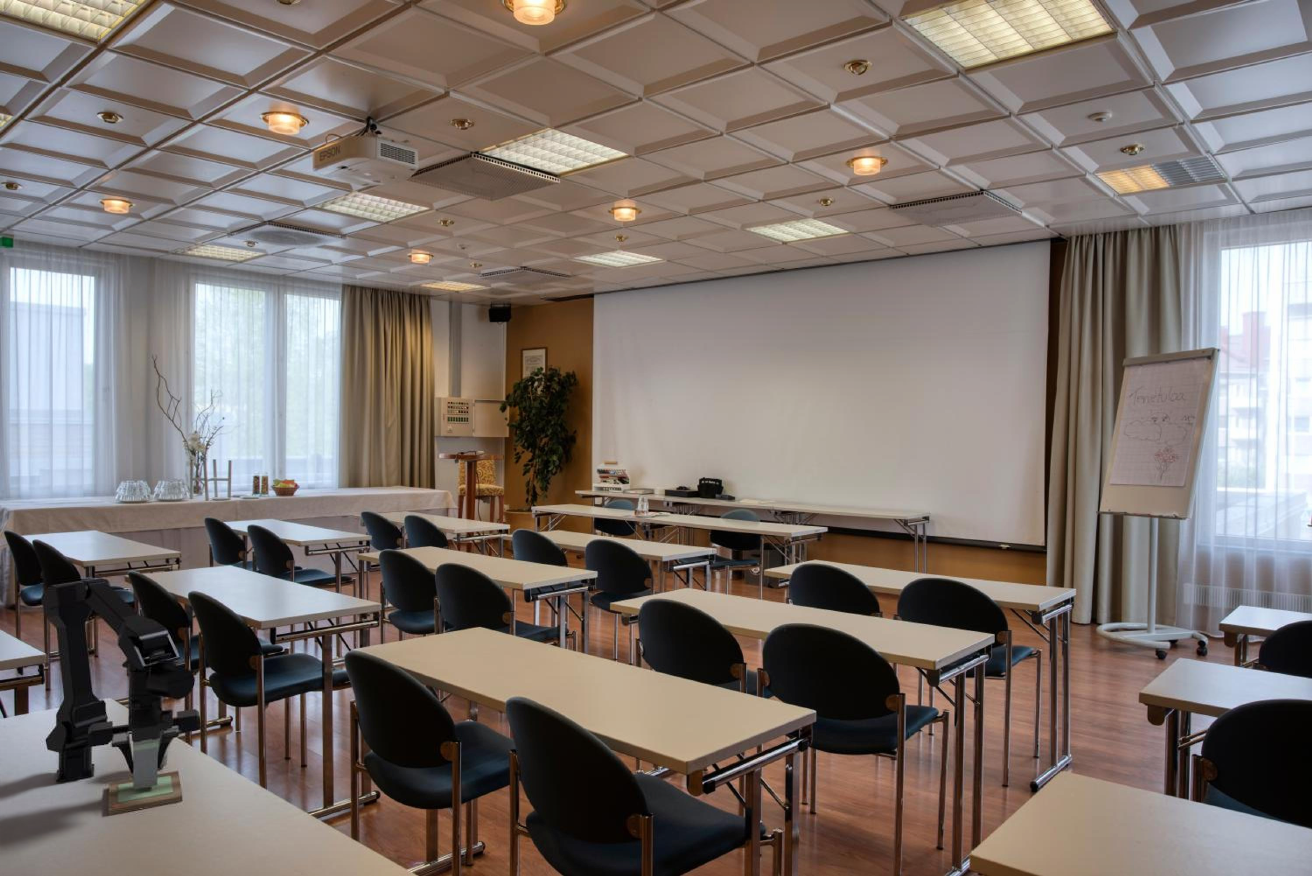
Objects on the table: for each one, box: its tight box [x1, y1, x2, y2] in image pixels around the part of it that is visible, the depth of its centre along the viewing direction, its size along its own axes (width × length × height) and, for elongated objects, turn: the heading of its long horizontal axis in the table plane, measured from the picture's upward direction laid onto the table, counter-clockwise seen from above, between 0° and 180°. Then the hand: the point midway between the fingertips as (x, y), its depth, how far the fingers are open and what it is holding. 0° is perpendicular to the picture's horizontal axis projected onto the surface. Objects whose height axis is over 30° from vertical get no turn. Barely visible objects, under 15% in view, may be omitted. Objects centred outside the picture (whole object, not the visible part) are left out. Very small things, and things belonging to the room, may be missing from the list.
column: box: [132, 739, 158, 790], centre depth 167 cm, size 4×4×9 cm
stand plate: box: [108, 770, 183, 816], centre depth 168 cm, size 14×12×1 cm
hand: (145, 770), depth 167 cm, fingers closed on column, 4 cm apart
